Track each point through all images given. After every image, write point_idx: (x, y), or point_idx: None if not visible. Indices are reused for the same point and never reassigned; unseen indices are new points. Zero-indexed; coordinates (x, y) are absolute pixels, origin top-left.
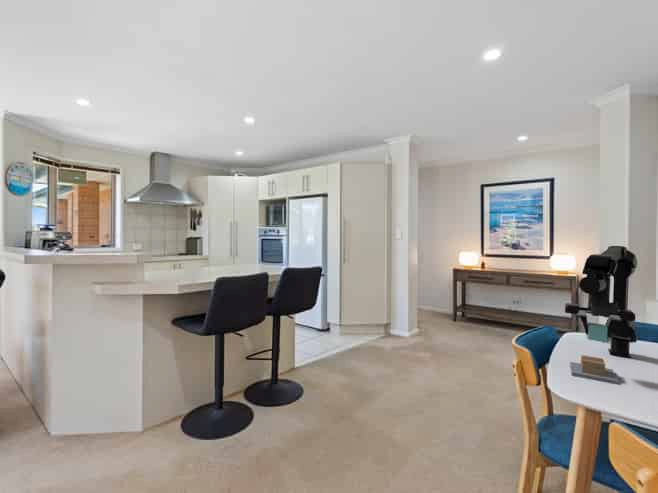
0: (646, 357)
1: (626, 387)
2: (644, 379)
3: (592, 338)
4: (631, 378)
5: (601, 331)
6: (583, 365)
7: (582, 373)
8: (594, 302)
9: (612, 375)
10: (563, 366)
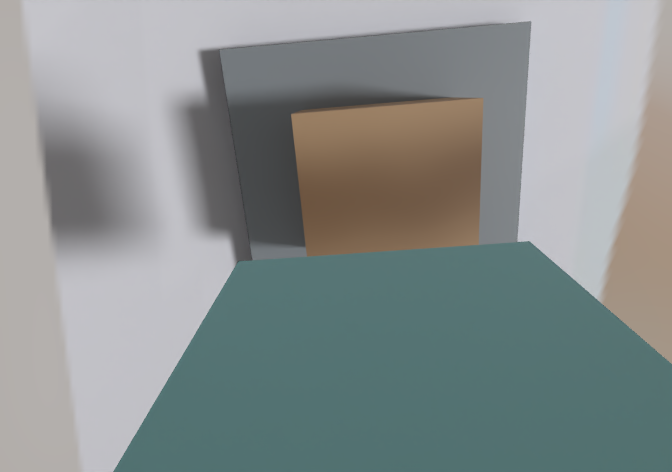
0: None
1: (170, 22)
2: (95, 276)
3: (468, 263)
4: (158, 244)
5: (310, 396)
6: (459, 98)
7: (451, 53)
8: None
9: (253, 163)
10: (556, 201)
